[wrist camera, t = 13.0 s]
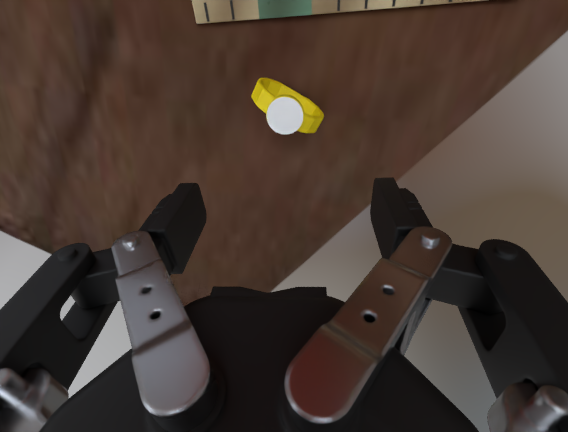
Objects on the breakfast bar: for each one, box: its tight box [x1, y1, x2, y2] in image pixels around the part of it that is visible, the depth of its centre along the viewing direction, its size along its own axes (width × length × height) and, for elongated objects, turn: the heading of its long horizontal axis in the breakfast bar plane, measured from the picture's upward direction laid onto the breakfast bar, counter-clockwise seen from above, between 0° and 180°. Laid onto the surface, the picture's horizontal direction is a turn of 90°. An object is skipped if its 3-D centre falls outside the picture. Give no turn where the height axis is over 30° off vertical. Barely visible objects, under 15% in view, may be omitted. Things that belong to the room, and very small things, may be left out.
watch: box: [251, 78, 324, 135], centre depth 24 cm, size 6×3×6 cm, turn 63°
